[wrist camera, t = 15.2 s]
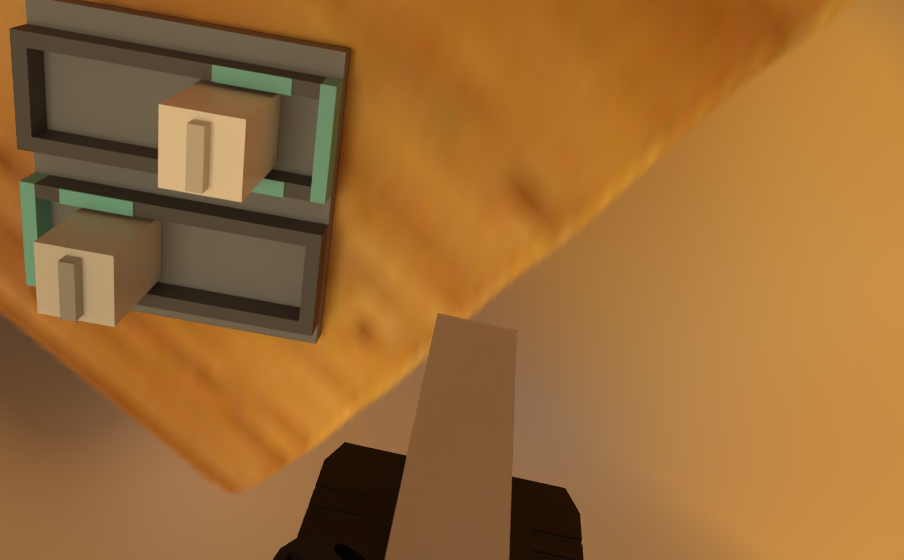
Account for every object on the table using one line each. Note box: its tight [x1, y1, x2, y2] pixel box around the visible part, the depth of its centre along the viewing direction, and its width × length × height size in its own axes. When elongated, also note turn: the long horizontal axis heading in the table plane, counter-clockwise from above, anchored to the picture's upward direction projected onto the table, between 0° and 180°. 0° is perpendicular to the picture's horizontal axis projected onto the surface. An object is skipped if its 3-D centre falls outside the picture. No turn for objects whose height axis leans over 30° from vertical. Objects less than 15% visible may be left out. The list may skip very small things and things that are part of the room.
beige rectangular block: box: [158, 79, 281, 202], centre depth 41 cm, size 4×4×7 cm
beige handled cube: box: [34, 208, 162, 327], centre depth 45 cm, size 4×4×7 cm
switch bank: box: [10, 0, 350, 344], centre depth 46 cm, size 17×16×3 cm
